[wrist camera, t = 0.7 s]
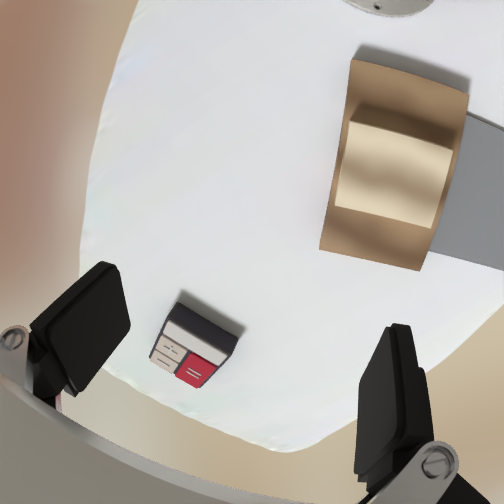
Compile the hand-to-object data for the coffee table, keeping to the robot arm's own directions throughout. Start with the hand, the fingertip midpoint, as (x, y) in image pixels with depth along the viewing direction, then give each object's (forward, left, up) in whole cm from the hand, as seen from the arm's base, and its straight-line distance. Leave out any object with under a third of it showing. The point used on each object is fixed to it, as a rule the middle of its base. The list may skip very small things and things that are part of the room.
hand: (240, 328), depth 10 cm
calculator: (+32, -13, -25) cm, 43 cm away
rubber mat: (-1, +22, -24) cm, 32 cm away
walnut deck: (-1, +9, -24) cm, 26 cm away
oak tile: (-1, +8, -22) cm, 24 cm away
